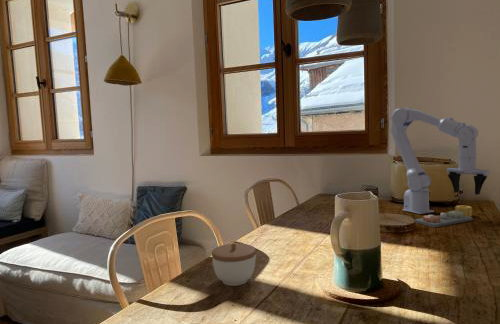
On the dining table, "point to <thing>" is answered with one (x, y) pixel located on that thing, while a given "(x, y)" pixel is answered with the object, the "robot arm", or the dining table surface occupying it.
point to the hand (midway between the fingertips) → (466, 193)
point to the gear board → (443, 219)
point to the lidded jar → (234, 263)
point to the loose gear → (464, 210)
